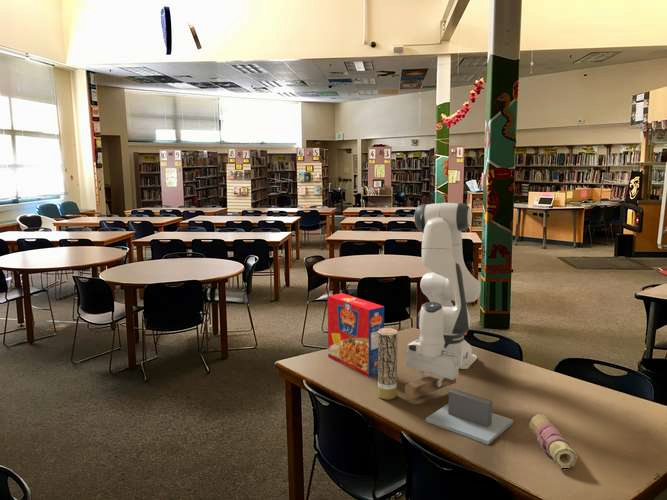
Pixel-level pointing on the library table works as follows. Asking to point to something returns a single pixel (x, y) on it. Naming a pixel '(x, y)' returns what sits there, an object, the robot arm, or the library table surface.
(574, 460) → the scroll
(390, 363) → the bark cylinder
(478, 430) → the ridge stand
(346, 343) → the pasta box
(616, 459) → the library table surface
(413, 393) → the light brown wooden bar
